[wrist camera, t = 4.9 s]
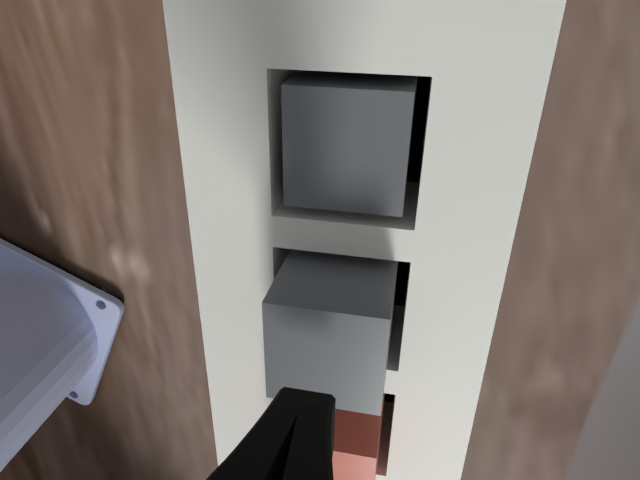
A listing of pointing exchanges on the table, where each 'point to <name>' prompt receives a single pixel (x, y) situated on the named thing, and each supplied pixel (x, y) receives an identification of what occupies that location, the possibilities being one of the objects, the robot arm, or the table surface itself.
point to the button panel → (356, 228)
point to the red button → (356, 445)
